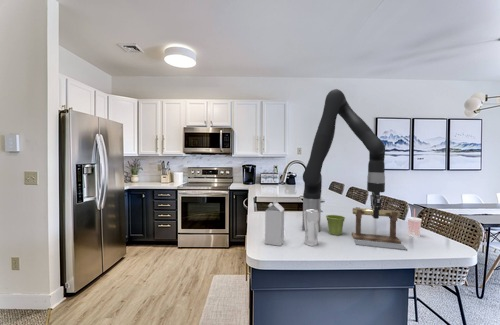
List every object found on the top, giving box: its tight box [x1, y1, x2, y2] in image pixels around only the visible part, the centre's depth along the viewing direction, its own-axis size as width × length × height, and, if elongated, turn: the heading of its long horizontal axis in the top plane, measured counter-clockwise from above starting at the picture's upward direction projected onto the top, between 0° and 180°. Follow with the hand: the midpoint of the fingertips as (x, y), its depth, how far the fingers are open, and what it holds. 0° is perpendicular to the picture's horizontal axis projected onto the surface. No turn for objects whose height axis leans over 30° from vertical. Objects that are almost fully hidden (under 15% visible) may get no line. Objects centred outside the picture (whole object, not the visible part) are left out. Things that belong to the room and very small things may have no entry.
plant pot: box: [325, 214, 346, 236], centre depth 122 cm, size 9×9×9 cm
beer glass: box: [304, 209, 321, 247], centre depth 107 cm, size 7×7×15 cm
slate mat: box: [353, 239, 408, 251], centre depth 106 cm, size 20×6×1 cm, turn 73°
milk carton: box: [264, 199, 285, 247], centre depth 107 cm, size 7×7×19 cm
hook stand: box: [351, 206, 402, 245], centre depth 114 cm, size 20×7×14 cm, turn 73°
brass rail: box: [352, 207, 401, 218], centre depth 114 cm, size 20×3×3 cm, turn 73°
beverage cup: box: [406, 208, 423, 238], centre depth 120 cm, size 6×6×14 cm
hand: (375, 217), depth 114 cm, fingers closed on brass rail, 3 cm apart
